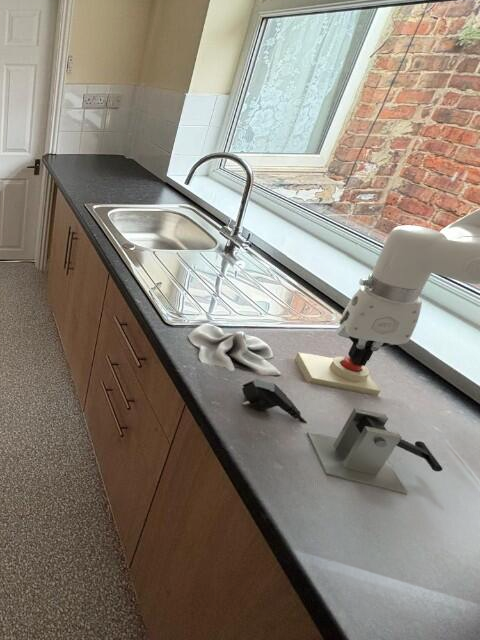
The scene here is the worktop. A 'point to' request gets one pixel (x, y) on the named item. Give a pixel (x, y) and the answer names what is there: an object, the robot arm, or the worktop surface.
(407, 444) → the switch lever
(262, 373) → the cloth
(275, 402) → the power plug
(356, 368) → the button
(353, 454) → the lever mounting bracket
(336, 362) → the control block
